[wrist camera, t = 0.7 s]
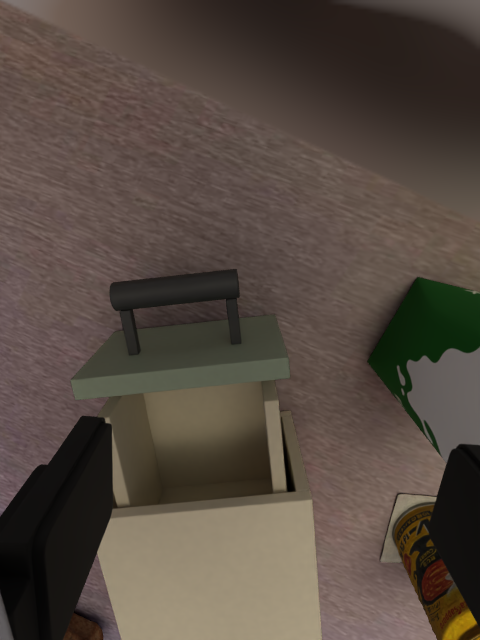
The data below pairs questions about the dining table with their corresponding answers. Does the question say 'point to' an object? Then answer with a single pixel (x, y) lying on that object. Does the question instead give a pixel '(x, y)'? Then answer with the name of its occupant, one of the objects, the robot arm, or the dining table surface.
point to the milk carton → (435, 362)
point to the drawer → (189, 396)
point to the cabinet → (218, 564)
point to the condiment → (427, 569)
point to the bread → (83, 629)
